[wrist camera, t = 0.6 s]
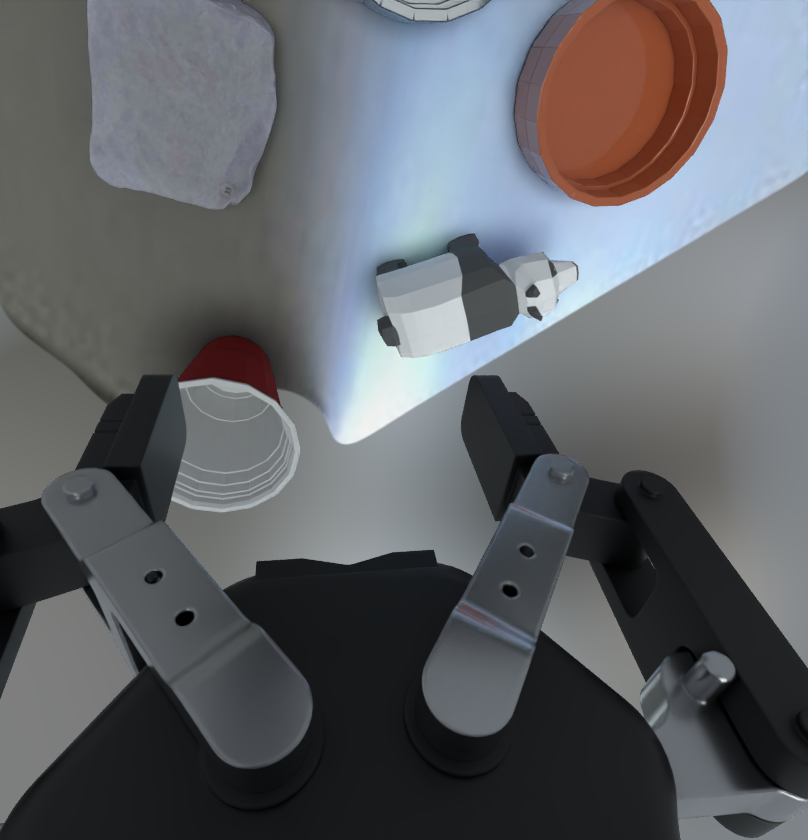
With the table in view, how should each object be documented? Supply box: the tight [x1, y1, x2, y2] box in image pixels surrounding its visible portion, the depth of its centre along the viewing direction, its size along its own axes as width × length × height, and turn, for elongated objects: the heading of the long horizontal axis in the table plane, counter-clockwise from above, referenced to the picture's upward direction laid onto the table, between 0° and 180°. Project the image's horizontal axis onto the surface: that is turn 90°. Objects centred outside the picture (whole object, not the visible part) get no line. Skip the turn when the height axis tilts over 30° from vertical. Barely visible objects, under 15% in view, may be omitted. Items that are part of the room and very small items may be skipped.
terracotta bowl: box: [514, 0, 727, 206], centre depth 34 cm, size 12×12×4 cm
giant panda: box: [376, 234, 579, 358], centre depth 38 cm, size 15×6×10 cm, turn 105°
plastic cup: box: [171, 336, 300, 512], centre depth 39 cm, size 11×11×12 cm
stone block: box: [87, 0, 277, 209], centre depth 31 cm, size 12×5×10 cm
